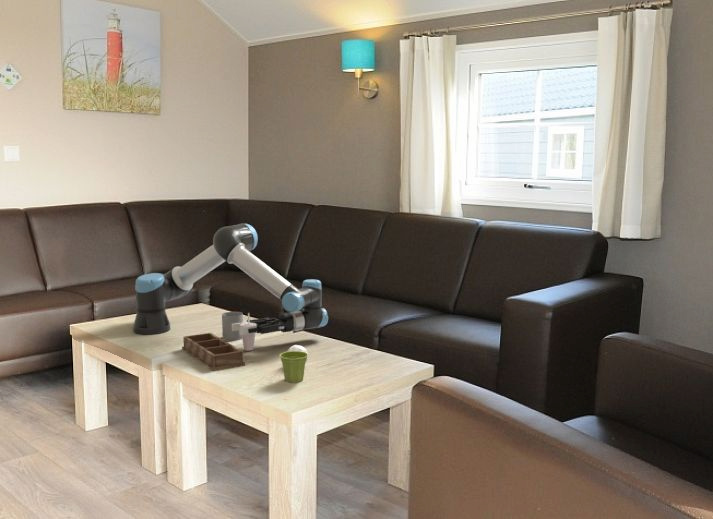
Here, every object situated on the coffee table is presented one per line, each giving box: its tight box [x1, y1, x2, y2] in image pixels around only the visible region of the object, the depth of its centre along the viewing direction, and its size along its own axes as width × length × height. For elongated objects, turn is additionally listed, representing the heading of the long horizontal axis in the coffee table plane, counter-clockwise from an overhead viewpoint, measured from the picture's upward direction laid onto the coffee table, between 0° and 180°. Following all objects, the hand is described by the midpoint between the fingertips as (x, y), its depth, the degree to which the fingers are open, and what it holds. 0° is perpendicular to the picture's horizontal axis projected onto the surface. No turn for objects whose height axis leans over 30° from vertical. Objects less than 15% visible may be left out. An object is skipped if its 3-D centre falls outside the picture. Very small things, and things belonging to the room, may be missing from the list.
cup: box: [221, 311, 244, 342], centre depth 295 cm, size 8×8×10 cm
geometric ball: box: [286, 344, 309, 364], centre depth 257 cm, size 8×8×8 cm
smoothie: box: [240, 312, 257, 352], centre depth 277 cm, size 6×6×14 cm
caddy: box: [181, 332, 246, 371], centre depth 269 cm, size 32×12×5 cm, turn 32°
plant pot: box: [279, 351, 309, 383], centre depth 242 cm, size 9×9×9 cm
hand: (235, 329), depth 274 cm, fingers closed on smoothie, 6 cm apart
